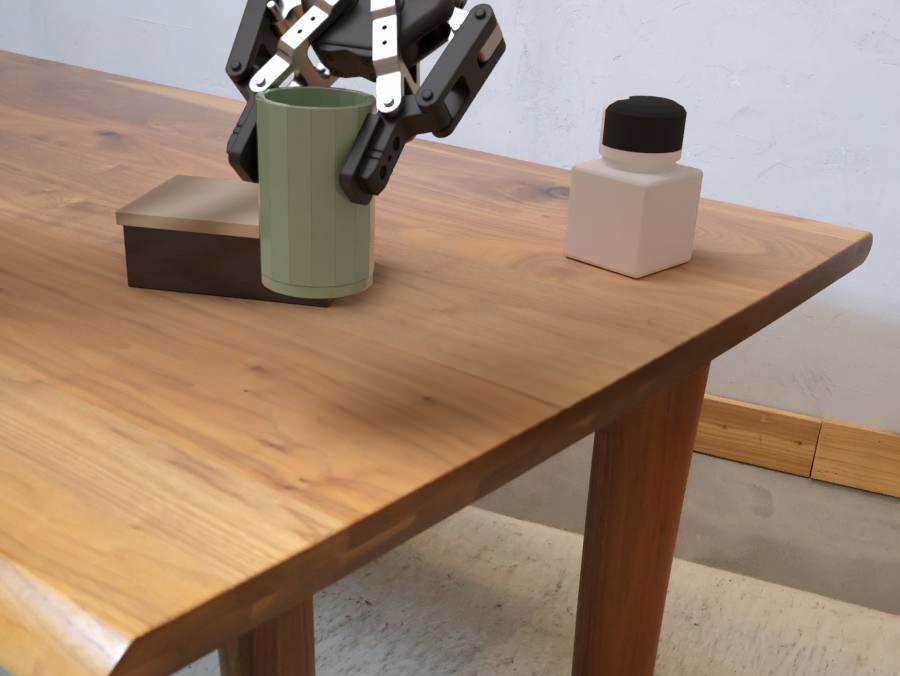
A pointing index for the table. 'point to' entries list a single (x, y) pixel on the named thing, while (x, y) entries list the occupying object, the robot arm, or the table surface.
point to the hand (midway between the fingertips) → (296, 183)
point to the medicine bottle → (635, 191)
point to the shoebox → (198, 240)
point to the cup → (311, 192)
